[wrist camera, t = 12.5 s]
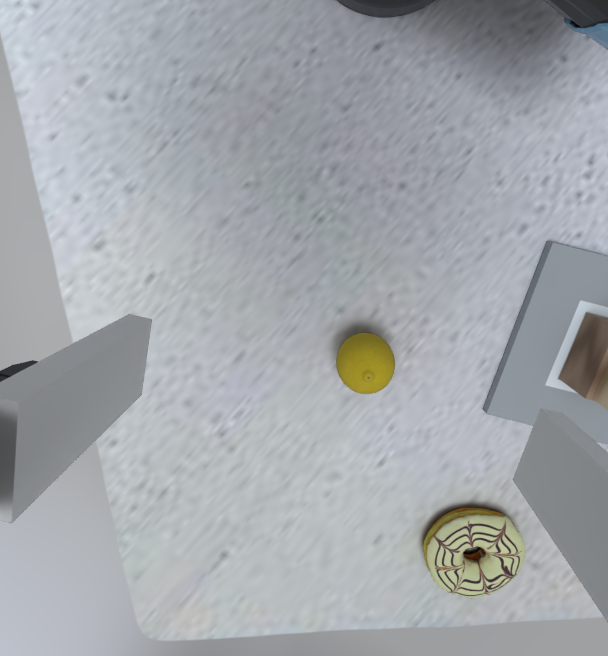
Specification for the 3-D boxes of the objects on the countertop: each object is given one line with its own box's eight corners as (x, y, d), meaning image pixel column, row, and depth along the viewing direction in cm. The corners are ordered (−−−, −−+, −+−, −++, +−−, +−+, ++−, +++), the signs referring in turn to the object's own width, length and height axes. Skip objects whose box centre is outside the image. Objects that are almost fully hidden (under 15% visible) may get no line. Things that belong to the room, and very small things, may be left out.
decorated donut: (523, 567, 53) (537, 594, 50) (431, 584, 55) (439, 612, 51) (507, 491, 51) (521, 513, 47) (412, 511, 52) (418, 534, 49)
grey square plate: (547, 241, 44) (553, 242, 43) (727, 287, 44) (738, 290, 43) (482, 408, 48) (486, 413, 47) (646, 450, 48) (654, 456, 47)
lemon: (325, 353, 48) (323, 381, 40) (359, 313, 47) (365, 334, 39) (365, 385, 48) (371, 418, 41) (400, 347, 47) (414, 374, 39)
